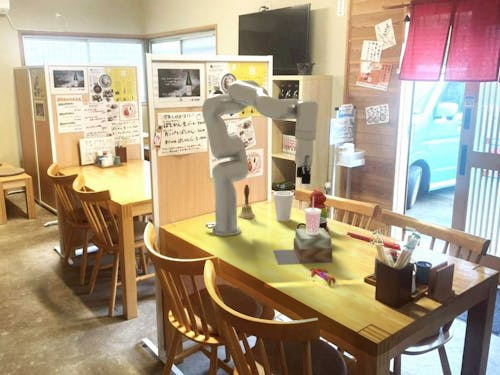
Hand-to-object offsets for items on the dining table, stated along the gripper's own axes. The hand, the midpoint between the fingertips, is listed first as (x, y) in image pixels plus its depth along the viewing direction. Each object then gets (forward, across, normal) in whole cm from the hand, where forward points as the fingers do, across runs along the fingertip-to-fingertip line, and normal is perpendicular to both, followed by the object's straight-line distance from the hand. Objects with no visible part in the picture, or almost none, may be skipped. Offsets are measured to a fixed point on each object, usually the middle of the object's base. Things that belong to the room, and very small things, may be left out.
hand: (303, 180), depth 169 cm
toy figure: (+29, +23, +3) cm, 37 cm away
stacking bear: (+30, -28, +14) cm, 43 cm away
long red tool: (+29, -9, +32) cm, 45 cm away
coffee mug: (+30, -11, +8) cm, 33 cm away
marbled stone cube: (+28, +6, +4) cm, 29 cm away
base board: (+29, +6, 0) cm, 30 cm away
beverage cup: (+19, +6, +4) cm, 20 cm away
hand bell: (+31, -50, -17) cm, 61 cm away
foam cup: (+31, -43, 0) cm, 53 cm away
